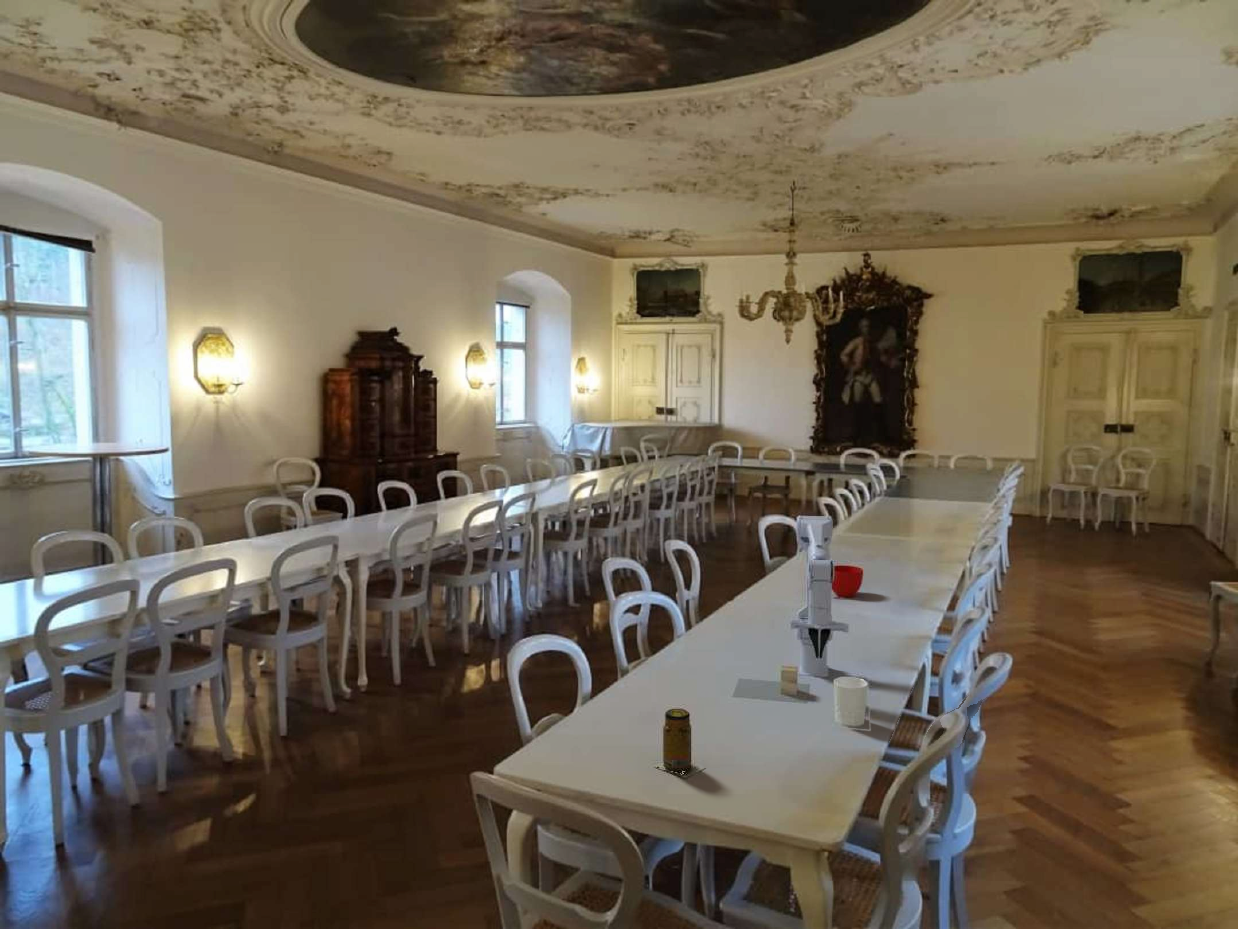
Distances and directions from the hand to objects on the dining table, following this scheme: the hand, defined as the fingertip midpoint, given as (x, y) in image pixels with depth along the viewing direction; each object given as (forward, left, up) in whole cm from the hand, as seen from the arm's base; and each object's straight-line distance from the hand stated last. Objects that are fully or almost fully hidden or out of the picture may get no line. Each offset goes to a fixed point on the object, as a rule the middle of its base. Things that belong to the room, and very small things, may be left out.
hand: (819, 657), depth 229 cm
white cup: (+16, +8, -11) cm, 21 cm away
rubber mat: (0, -12, -10) cm, 16 cm away
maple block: (0, -8, -10) cm, 12 cm away
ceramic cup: (-108, +4, -11) cm, 109 cm away
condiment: (+50, -27, -11) cm, 58 cm away
